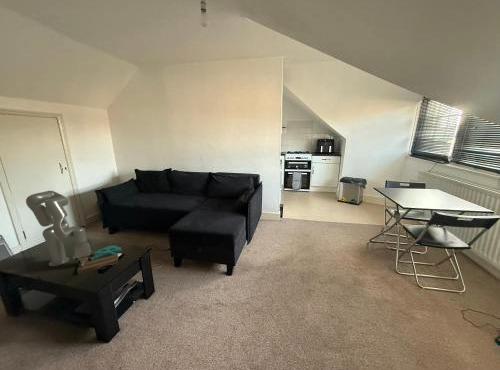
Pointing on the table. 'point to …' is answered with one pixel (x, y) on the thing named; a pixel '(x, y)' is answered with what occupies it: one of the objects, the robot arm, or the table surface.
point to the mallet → (83, 260)
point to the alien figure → (106, 251)
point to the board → (97, 263)
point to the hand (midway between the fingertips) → (85, 263)
